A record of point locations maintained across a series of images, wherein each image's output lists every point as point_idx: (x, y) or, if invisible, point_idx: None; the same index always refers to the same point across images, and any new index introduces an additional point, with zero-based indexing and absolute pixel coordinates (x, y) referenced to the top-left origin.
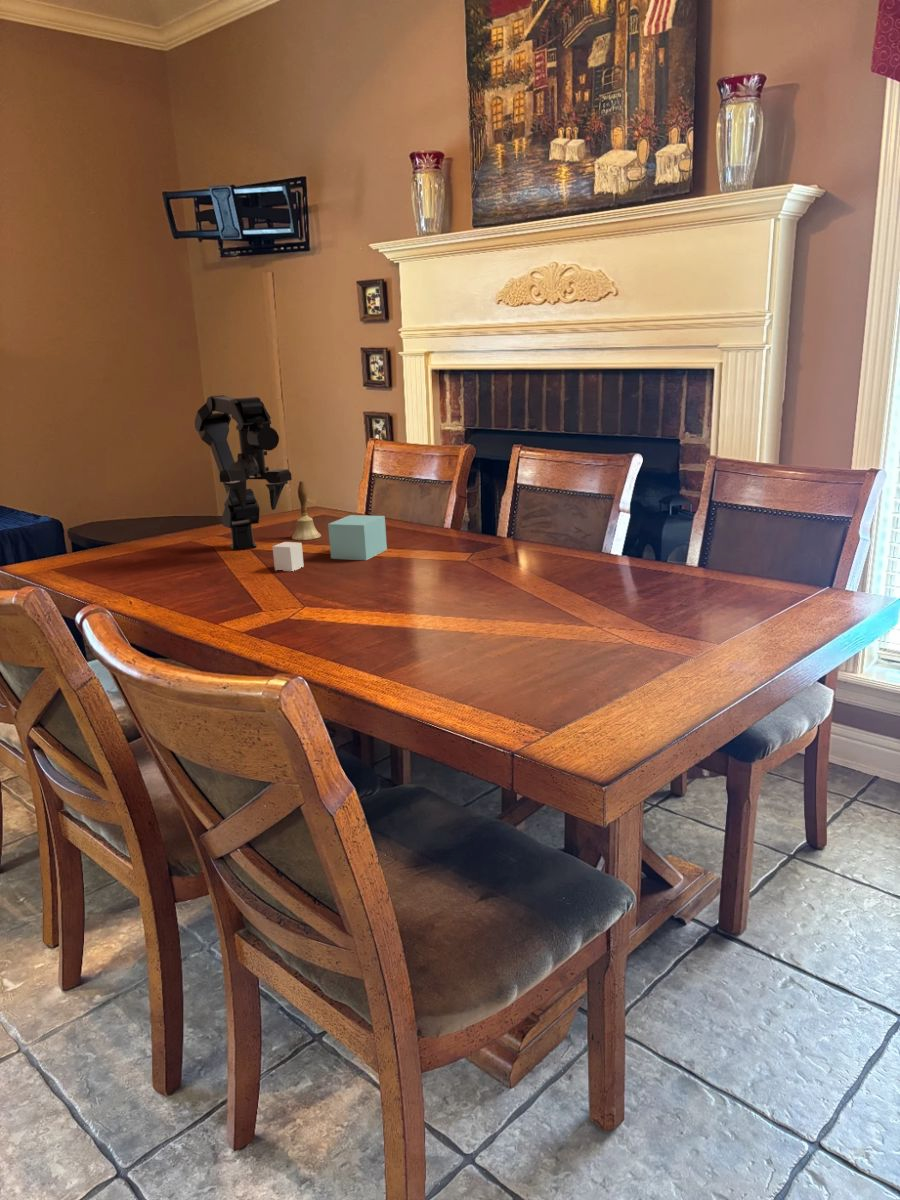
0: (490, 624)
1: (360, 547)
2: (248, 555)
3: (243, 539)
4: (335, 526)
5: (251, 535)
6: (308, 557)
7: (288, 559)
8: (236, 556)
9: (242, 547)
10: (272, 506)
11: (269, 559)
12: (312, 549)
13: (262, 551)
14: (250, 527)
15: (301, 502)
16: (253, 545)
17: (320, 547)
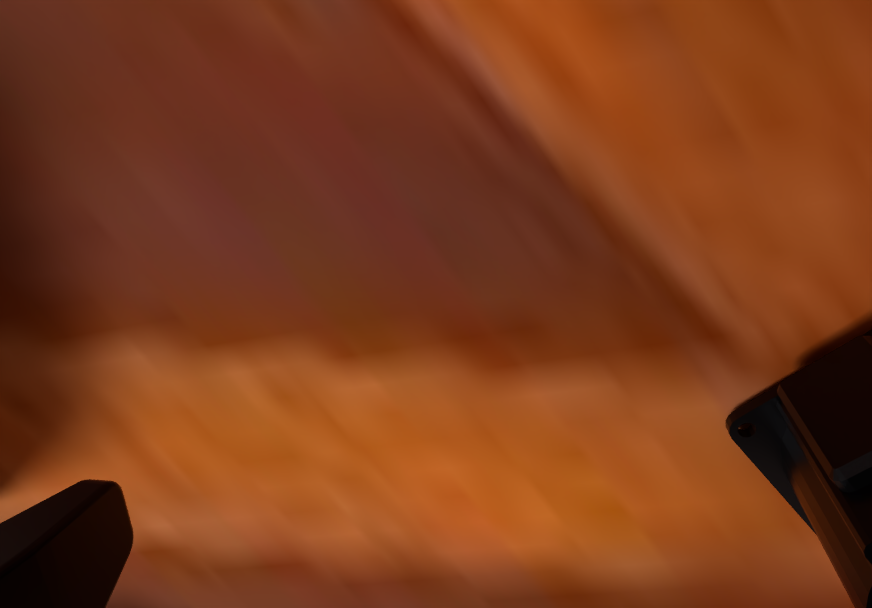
0: None
1: None
2: (642, 152)
3: (852, 398)
4: None
5: (816, 512)
6: (43, 203)
7: None
8: (757, 83)
9: (838, 348)
10: (26, 514)
11: (320, 50)
12: (213, 438)
13: (590, 320)
14: (853, 576)
15: None
16: (764, 437)
17: (201, 496)
